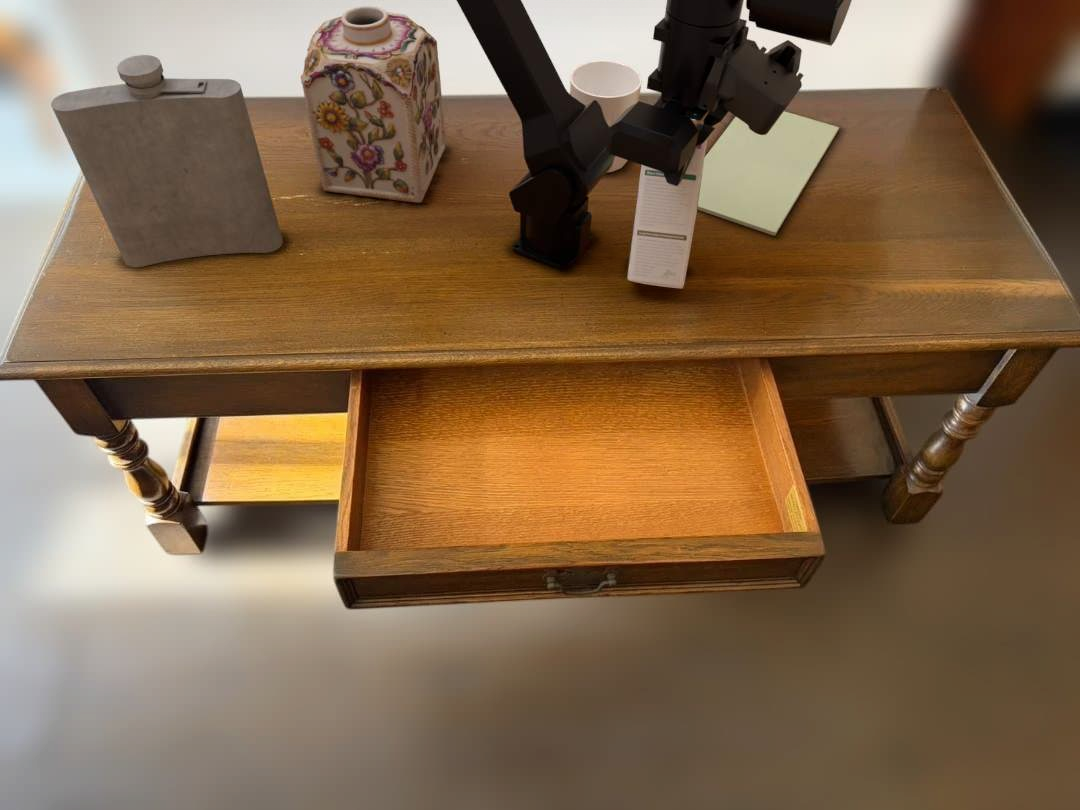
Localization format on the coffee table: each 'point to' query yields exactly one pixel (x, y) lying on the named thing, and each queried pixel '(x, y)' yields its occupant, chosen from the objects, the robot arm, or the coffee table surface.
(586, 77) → the white cup
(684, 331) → the coffee table surface
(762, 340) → the coffee table surface
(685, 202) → the syrup box
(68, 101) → the hip flask
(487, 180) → the coffee table surface
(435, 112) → the decorative jar
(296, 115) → the coffee table surface
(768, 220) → the paper notepad
